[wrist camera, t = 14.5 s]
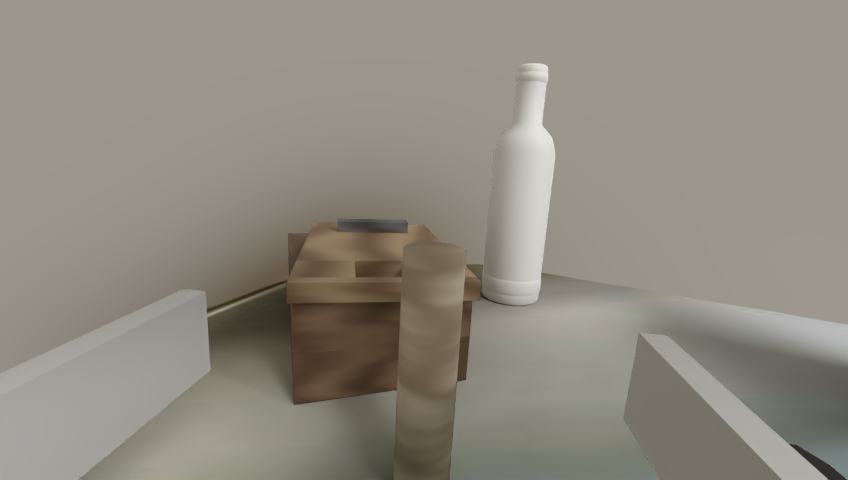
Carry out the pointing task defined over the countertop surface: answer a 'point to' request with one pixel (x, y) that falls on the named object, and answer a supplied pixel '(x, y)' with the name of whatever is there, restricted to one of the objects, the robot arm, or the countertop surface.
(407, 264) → the pin
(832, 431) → the countertop surface
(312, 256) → the toolbox lid
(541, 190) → the bottle
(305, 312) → the toolbox
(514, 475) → the countertop surface
